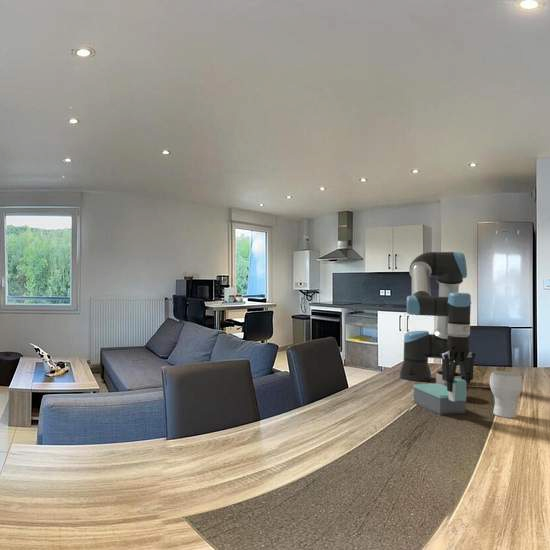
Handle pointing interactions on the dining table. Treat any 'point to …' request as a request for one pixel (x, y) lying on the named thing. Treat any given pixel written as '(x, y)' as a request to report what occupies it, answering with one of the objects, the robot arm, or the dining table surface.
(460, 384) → the lid
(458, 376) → the planter
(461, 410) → the tub
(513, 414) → the cup
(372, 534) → the dining table surface
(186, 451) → the dining table surface
